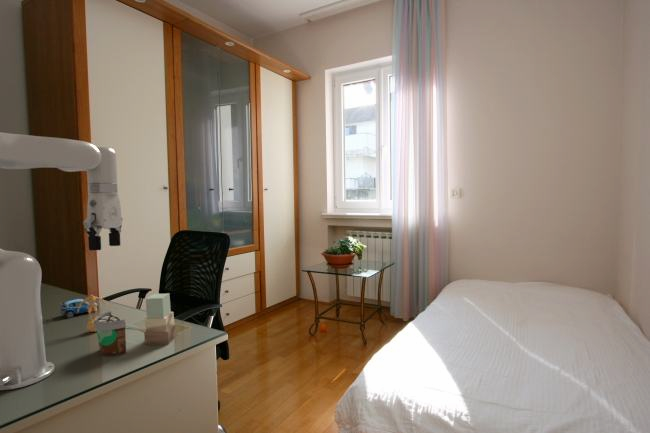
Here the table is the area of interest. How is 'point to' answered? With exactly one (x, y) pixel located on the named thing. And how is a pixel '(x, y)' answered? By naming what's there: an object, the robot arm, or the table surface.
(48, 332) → the table surface
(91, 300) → the figurine
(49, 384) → the table surface
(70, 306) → the toy car
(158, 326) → the birch block
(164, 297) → the green block
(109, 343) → the food container
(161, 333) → the walnut block
